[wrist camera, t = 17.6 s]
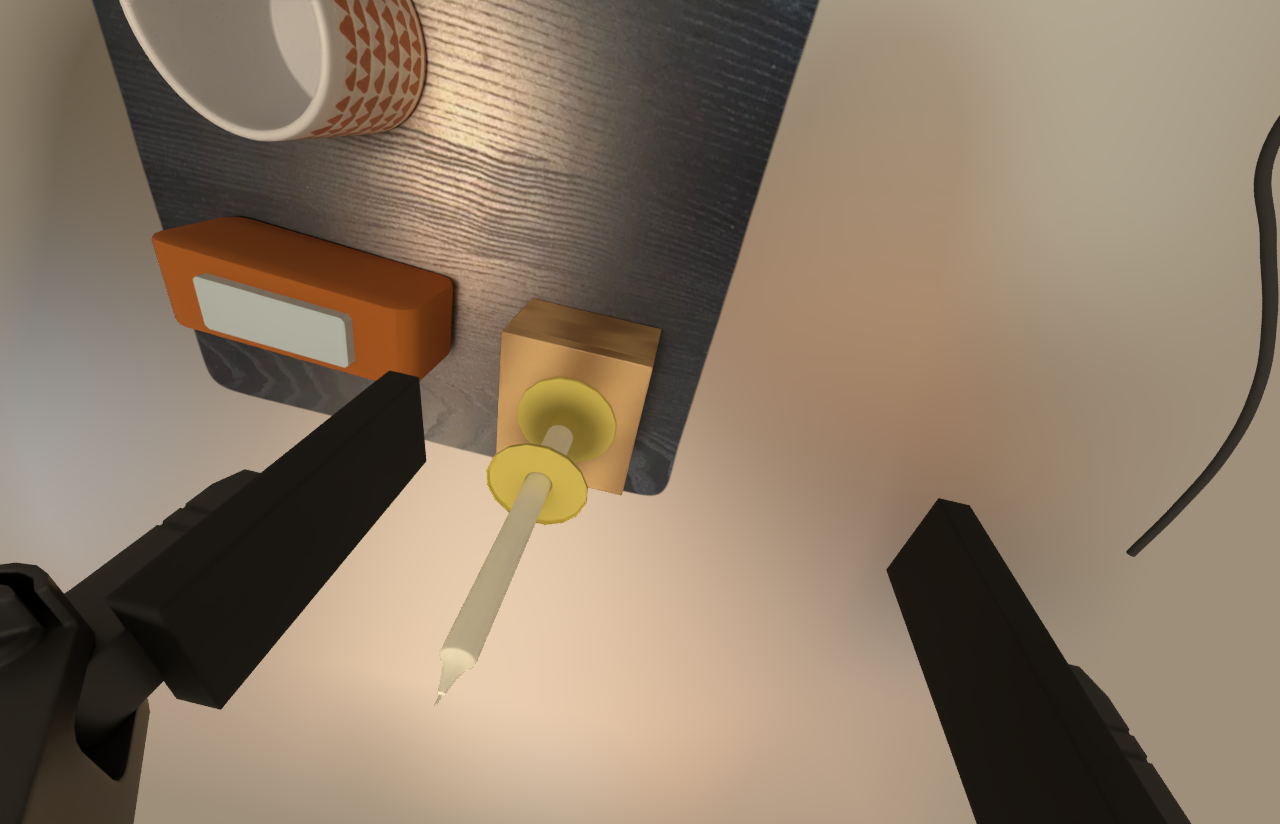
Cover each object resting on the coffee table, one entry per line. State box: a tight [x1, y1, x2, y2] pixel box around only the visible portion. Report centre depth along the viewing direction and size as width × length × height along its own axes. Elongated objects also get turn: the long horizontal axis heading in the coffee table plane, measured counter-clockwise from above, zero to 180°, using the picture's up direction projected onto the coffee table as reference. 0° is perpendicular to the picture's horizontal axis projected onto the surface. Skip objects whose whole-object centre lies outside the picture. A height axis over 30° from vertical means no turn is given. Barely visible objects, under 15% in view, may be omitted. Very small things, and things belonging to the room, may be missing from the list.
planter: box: [120, 0, 426, 141], centre depth 35 cm, size 14×14×13 cm
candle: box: [435, 376, 617, 706], centre depth 36 cm, size 10×10×27 cm
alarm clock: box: [152, 217, 453, 381], centre depth 48 cm, size 24×8×11 cm, turn 75°
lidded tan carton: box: [496, 299, 661, 495], centre depth 51 cm, size 14×16×9 cm
